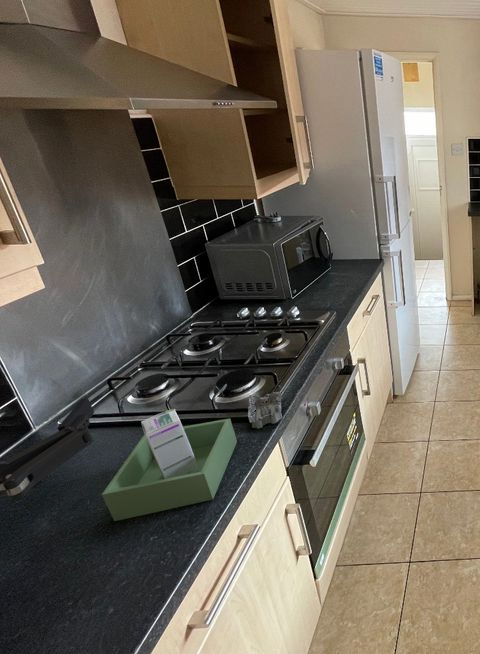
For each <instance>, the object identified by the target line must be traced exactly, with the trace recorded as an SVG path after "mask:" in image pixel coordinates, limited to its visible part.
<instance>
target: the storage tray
mask: <svg viewBox="0 0 480 654" xmlns="http://www.w3.org/2000/svg"><path fill="white" fill-rule="evenodd" d="M183 429H184V431H185V433H186V436H187V438H188V440H189V443H190V446H191V449H192V451H193V454H194V457H195V459H196V462H197V465H198V468H199V471H200V472H197V473H192V474H187V475H182V476H177V477H172V478H167V479H164V478H163V475H162V473H161V471H160V468H159V466H158V464H157V462H156V459H155V457H154V455H153V452H152V450H151V447H150V445H149V443H148V440H147V438H146V436H145V433H144V434H143V436H142V437H141V438H140V440H139V442H138V443H137V444H136V445H135V447H134V449H133V450H132V451H131V453H130V454H129V455H128V457H127V458H126V460H125V461H124V462H123V464H122V466H121V467H120V468H119V469H118V471H117V472H116V474H115V475H114V477H113V478H112V479H111V481H110V482H109V484H108V485H107V487H106V488H105V489H104V490H103V492H102V493H101V497H102V498H103V500H104V503H105V505H106V508H107V509H108V511H109V514H110V515H111V517H112V519H113V521H114V522H118V521H123V520H126V519H131V518H135V517H140V516H144V515H145V516H146V515H149V514H154V513H159V512H163V511H167V510H172V509H177V508H181V507H186V506H190V505H195V504H198V503H199V504H200V503H203V502H208V501H212V500H214V498H215V496H216V494H217V491H218V489H219V487H220V485H221V481H222V479H223V477H224V475H225V472H226V470H227V467H228V464H229V462H230V460H231V458H232V455H233V452H234V451H235V448H236V445H237V443H238V441H237V437H236V434H235V430H234V427H233V424H232V420H231V418H225V419H219V420H214V421H208V422H207V421H206V422H202V423H196V424H191V425H185V426H183Z"/></svg>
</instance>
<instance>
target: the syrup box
mask: <svg viewBox="0 0 480 654" xmlns="http://www.w3.org/2000/svg"><path fill="white" fill-rule="evenodd" d="M176 411H177V410H176V409H175V408H171V409H168V410H165V411H163V412H159V413H157V414H155V415H152V416H151V417H148V418H146V419H144V420H142V421H140V423H141V426H142V427H141V428H142V430H143V433H144V434H145V436H146V438H147V440H148V443H149V445H150V447H151V450H152V452H153V455H154V457H155V459H156V462H157V464H158V466H159V468H160V471H161V473H162V475H163V478H164V479H167V478H172V477H177V476H182V475H187V474H192V473H197V472H200V471H199V468H198V465H197V462H196V459H195V457H194V454H193V451H192V449H191V446H190V443H189V440H188V438H187V436H186V433H185V431H184V429H183V427H184V426H183V424H182V422H181V419H180V418H179V415H178V413H177V412H176Z"/></svg>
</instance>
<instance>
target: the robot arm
mask: <svg viewBox="0 0 480 654" xmlns="http://www.w3.org/2000/svg"><path fill="white" fill-rule="evenodd" d="M94 414H95V411H94V408H93V406H92V405H91V402H90V399H89V398H88V397H87V398H82V399H80V400H79V402H78V403H77V404H76V405H75V407H73V408H72V410H71V411H70V412H69V413H68V415H66V417H65V419H63V420H62V421H61V423H60V424H59V425H58V426H57V430H58V431H56V432H55V433H53V434H51V435H49V436H47V437H46V438H44V439H42V440H40V441H38V442H36V443H34V444H32V445H30V446H29V447H27V448H25V449H23V450H21V451H20V452H17V453H16V454H14V455H12V456H10V457H8V458H6V459H4V460H2V461H1V460H0V498H1V497H9V498H10V500H11V501H17V500H19V499H22V498H23V497H25V496H26V495H27V494H28V493H29V492H30V491H31V489H33V488H34V486H36V484H38V483H39V482H40V481H42V480H43V479H45V478H46V477H47V476H49V475H50V474H51V473H53V472H55V470H57V469H58V468H59V467H61V466H62V465H64V464H65V463H66V462H68V461H69V460H71V459H72V458H73V457H74V456H76V455H77V454H79V453H80V452H82V451H84V449H86V448H87V447H88V446H90V445H91V444H92V443H94V441H95V440H94V438H93V435H92V433H91V431H90V429H89V426H90V424H91V421H90V419H91V418H92V417H93V416H94Z"/></svg>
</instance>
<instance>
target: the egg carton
mask: <svg viewBox="0 0 480 654" xmlns="http://www.w3.org/2000/svg"><path fill="white" fill-rule="evenodd" d="M272 397H274V398H272ZM270 398H272V399H270ZM269 399H270V401H269ZM259 401H261V402H266V401H269V402H267V403H261V402H259ZM256 402H259V403H256ZM255 403H256V405H255ZM247 409H248V410H247V417H248V420H249V423H250V424H251V428H252V429H261V428H263V427H264V426H265V425H266V424H277V423H278V422H279V421H280V420H282V419H283V415H282V393H281V391H276V392H275V391H273V392H272V393H266V394H265V396H263V397H261V396H260V395H259V394H256V395H251V394H250V395H249V397H248V407H247ZM255 410H256V412H254V411H255ZM252 412H254V413H252Z"/></svg>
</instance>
